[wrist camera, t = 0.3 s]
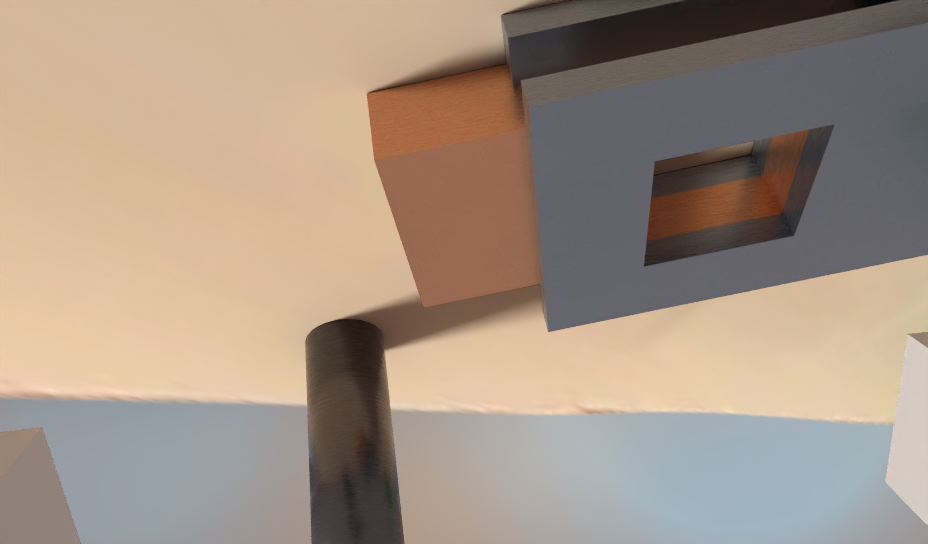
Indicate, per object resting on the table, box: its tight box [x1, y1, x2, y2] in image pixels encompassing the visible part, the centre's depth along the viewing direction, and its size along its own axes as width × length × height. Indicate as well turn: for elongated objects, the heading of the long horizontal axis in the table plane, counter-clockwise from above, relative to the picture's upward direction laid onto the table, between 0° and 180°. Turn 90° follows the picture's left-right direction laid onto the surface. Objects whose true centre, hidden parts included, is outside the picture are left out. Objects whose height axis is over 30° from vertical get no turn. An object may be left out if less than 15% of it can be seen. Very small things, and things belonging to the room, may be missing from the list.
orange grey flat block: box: [367, 0, 928, 332], centre depth 28 cm, size 22×13×4 cm, turn 98°
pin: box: [305, 320, 404, 544], centre depth 35 cm, size 4×4×14 cm
